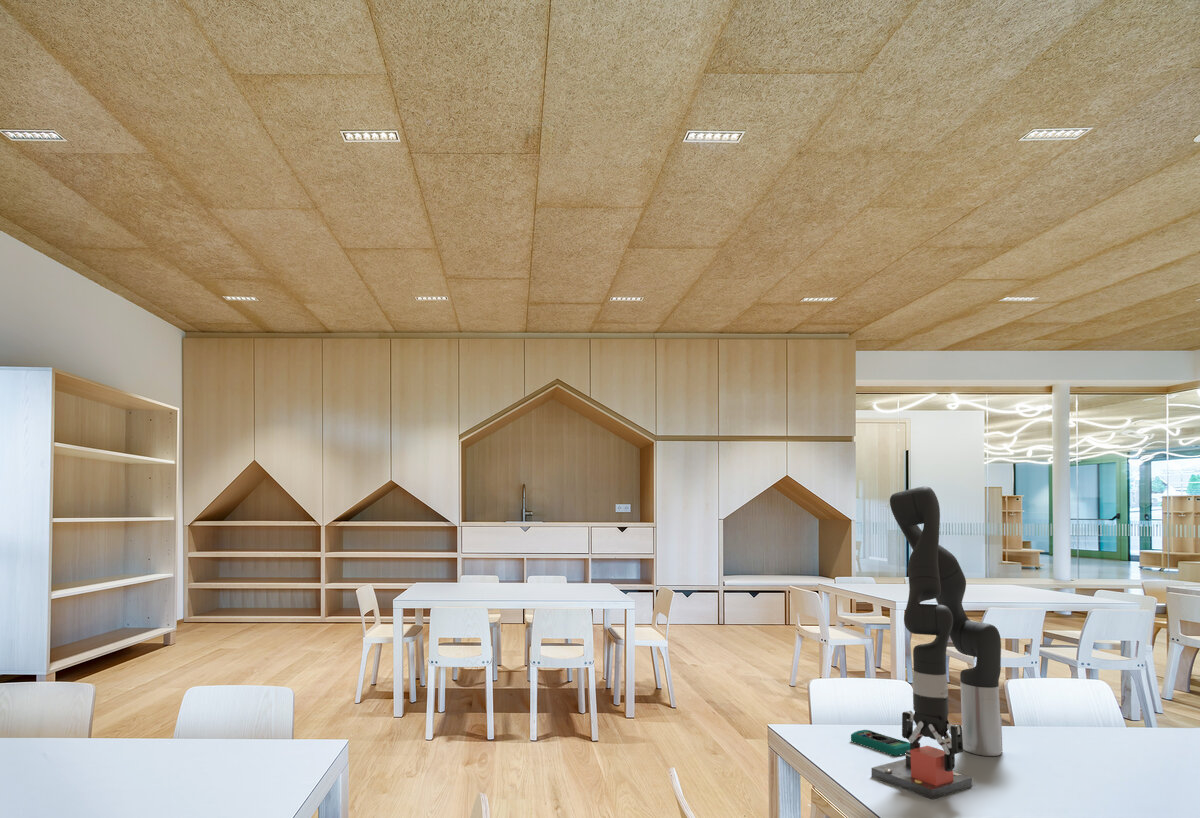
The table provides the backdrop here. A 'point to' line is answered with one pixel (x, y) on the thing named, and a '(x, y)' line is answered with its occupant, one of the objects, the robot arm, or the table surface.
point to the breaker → (908, 757)
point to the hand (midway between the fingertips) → (932, 765)
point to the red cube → (929, 766)
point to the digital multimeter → (880, 742)
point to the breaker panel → (918, 780)
